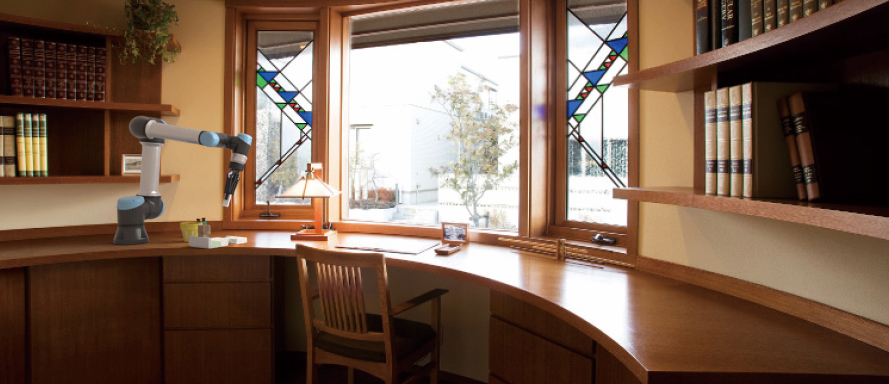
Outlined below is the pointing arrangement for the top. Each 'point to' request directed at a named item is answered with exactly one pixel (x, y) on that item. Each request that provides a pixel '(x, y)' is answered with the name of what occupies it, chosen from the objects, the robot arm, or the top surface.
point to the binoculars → (202, 221)
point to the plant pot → (189, 229)
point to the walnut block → (204, 231)
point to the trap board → (214, 241)
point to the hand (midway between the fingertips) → (225, 206)
